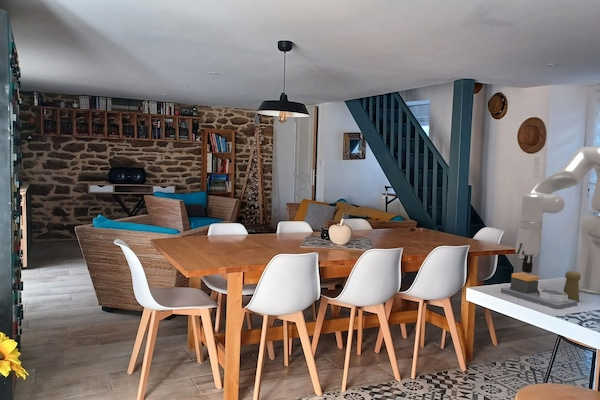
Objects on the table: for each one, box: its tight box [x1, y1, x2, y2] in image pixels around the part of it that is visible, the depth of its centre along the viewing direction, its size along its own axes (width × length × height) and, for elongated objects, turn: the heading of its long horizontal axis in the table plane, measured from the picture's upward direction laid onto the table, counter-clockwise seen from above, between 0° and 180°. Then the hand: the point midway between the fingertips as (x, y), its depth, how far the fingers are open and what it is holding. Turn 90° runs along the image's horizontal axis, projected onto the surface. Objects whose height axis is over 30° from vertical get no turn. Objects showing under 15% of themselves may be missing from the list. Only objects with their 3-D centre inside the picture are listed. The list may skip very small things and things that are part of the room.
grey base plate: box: [500, 277, 578, 310], centre depth 190 cm, size 13×23×6 cm, turn 33°
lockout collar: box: [537, 288, 568, 303], centre depth 185 cm, size 10×10×2 cm
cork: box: [562, 270, 581, 303], centre depth 191 cm, size 6×6×11 cm
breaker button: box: [511, 272, 540, 281], centre depth 195 cm, size 7×7×4 cm
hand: (526, 272), depth 195 cm, fingers closed
